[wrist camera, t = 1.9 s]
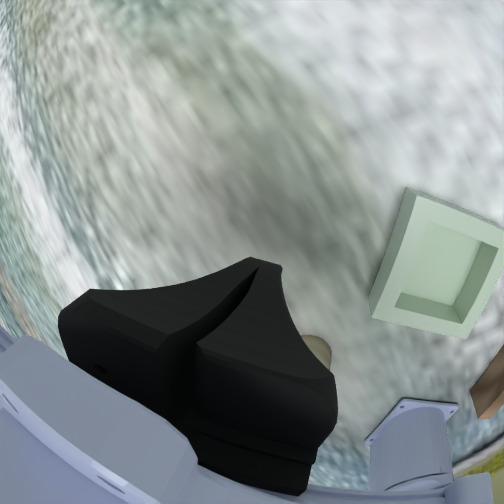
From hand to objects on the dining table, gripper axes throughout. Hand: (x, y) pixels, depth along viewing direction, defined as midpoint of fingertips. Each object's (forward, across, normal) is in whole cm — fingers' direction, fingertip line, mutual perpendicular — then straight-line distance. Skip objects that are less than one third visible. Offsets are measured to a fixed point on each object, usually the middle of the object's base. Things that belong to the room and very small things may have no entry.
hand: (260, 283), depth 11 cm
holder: (+9, -11, 0) cm, 14 cm away
